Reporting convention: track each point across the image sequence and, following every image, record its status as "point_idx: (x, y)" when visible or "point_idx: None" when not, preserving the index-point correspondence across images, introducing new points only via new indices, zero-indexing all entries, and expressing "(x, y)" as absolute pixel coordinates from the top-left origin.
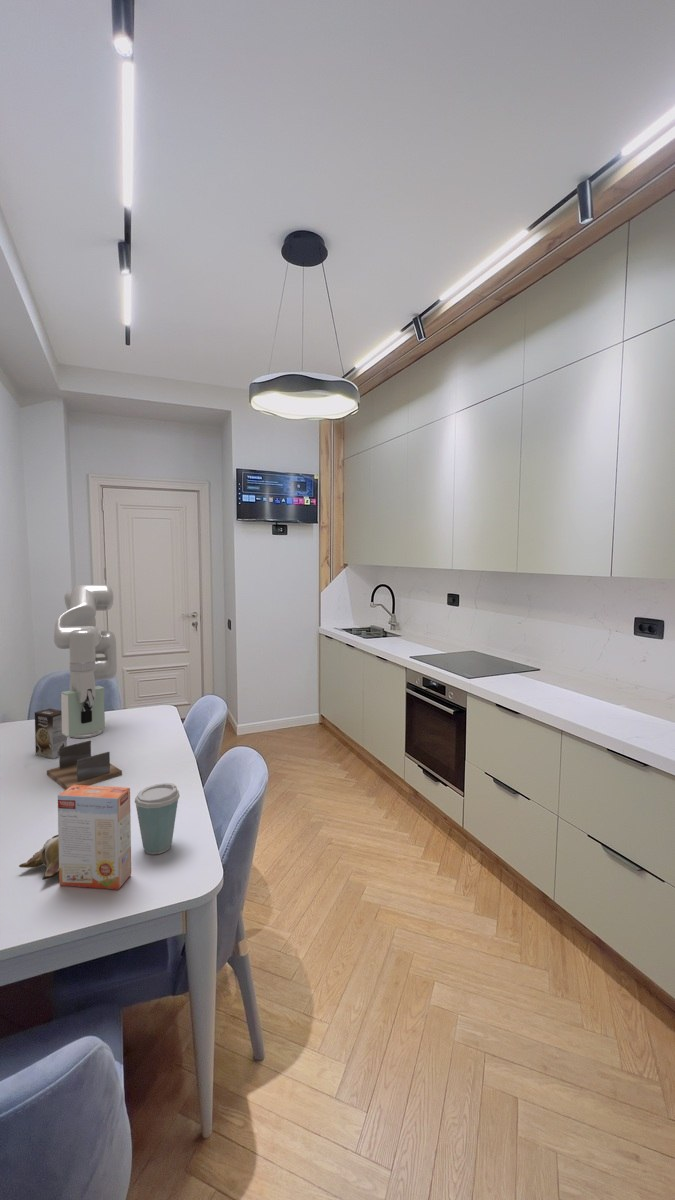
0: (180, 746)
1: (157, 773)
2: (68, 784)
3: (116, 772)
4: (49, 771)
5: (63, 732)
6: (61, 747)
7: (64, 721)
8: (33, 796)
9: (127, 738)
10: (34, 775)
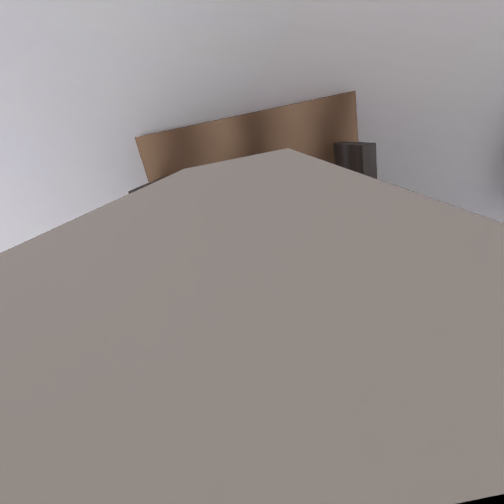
0: None
1: None
2: (157, 143)
3: None
4: (334, 99)
5: (252, 155)
6: (375, 156)
7: (212, 173)
8: (158, 10)
9: None
10: (377, 44)
